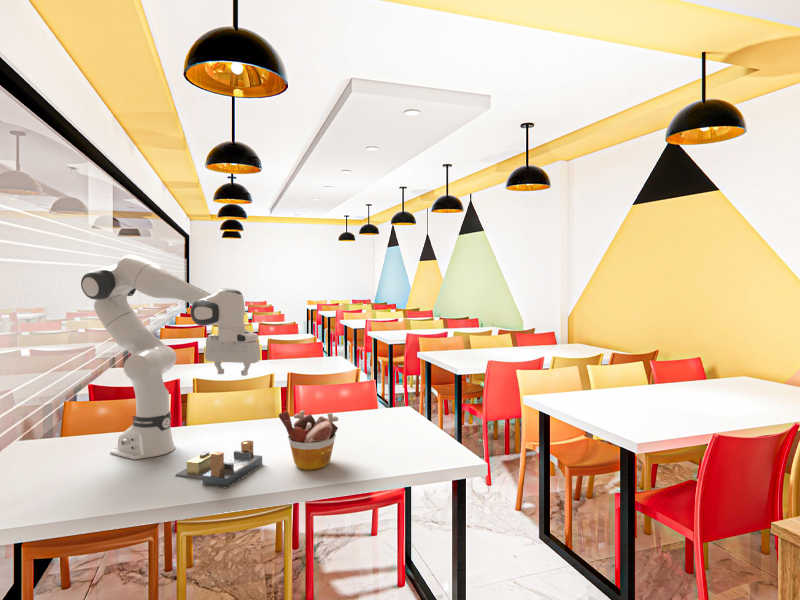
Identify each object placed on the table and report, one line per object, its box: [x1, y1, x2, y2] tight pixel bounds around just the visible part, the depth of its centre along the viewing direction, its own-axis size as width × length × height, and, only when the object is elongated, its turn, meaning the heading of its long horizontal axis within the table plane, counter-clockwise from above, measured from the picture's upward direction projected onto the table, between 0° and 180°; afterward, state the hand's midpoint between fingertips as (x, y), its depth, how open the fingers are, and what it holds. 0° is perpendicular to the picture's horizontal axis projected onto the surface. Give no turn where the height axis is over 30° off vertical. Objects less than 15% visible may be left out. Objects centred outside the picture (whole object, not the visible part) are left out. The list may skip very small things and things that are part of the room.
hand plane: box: [201, 440, 263, 489], centre depth 162 cm, size 20×9×10 cm, turn 164°
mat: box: [175, 467, 211, 480], centre depth 165 cm, size 11×11×1 cm
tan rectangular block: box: [186, 451, 212, 475], centre depth 165 cm, size 8×4×5 cm, turn 164°
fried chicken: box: [278, 409, 339, 471], centre depth 170 cm, size 20×16×20 cm
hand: (232, 374), depth 171 cm, fingers open, 8 cm apart
